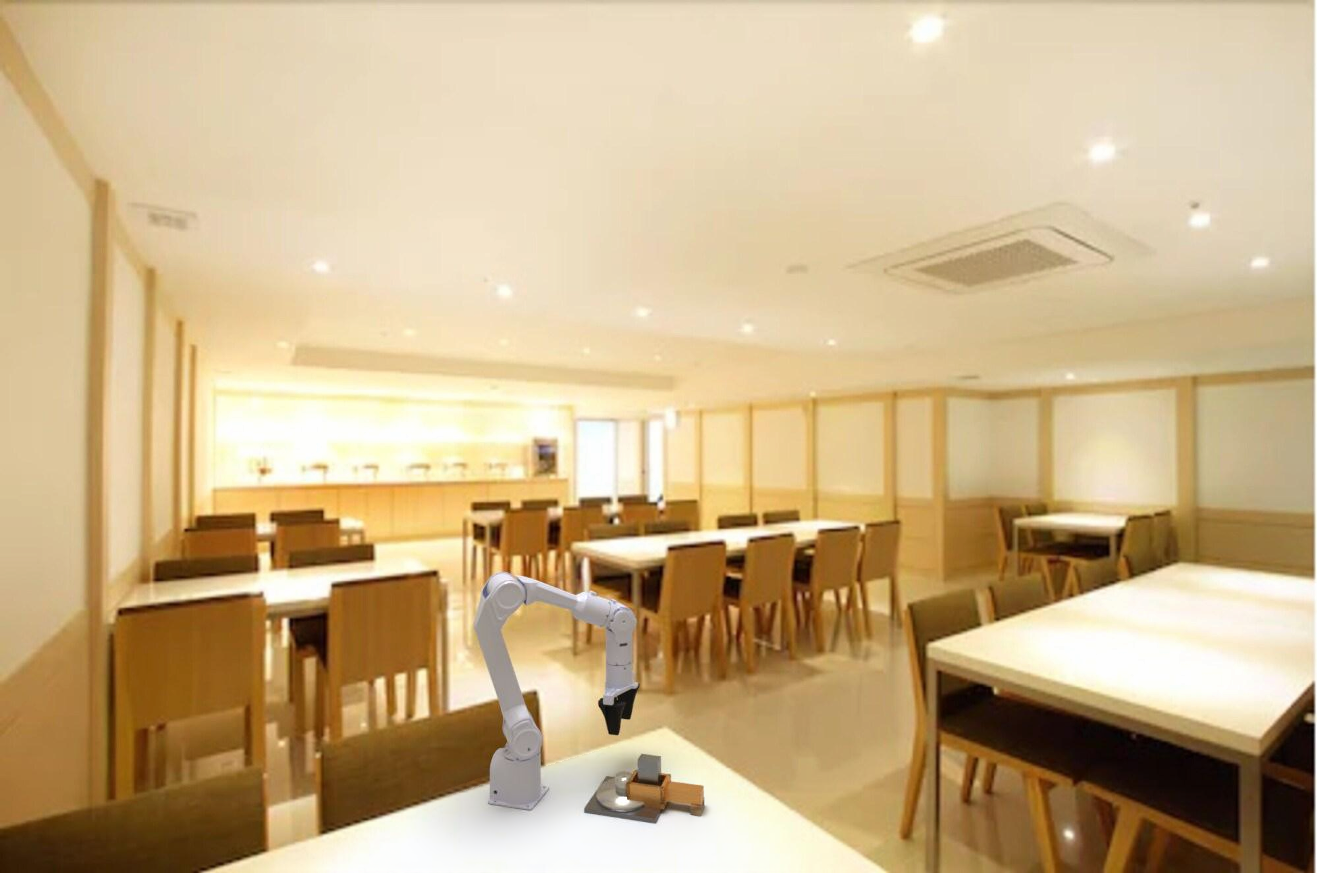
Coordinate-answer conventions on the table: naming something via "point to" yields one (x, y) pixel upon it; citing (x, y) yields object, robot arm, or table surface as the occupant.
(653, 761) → the brushed metal block
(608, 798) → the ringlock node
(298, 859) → the table surface
